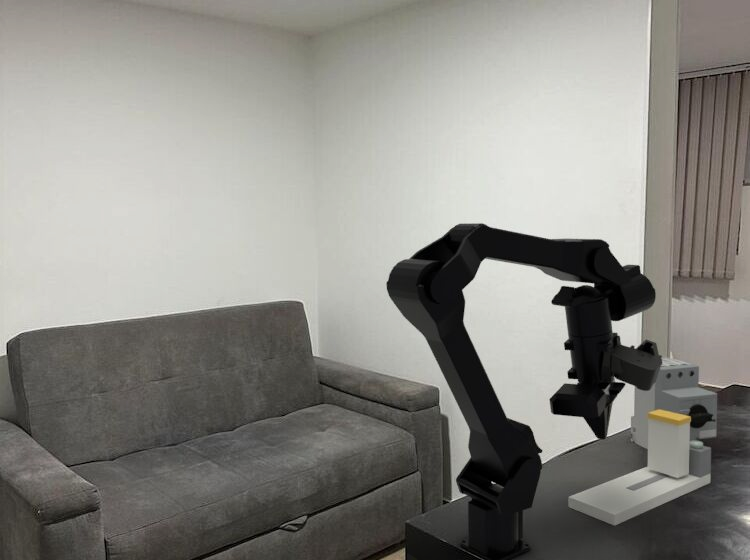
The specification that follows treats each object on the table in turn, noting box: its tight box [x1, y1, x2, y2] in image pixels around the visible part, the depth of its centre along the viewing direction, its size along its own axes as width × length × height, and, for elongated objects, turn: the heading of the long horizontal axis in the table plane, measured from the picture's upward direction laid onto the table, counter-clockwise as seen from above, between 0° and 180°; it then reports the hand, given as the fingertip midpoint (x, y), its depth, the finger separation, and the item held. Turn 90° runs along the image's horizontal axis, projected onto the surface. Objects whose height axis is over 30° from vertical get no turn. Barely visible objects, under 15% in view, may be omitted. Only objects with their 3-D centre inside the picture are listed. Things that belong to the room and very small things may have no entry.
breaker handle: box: [647, 409, 691, 478], centre depth 106 cm, size 3×5×9 cm, turn 36°
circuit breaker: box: [630, 357, 718, 450], centre depth 120 cm, size 8×14×15 cm, turn 15°
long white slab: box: [567, 440, 712, 526], centre depth 102 cm, size 24×8×6 cm, turn 126°
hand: (602, 438), depth 96 cm, fingers closed
